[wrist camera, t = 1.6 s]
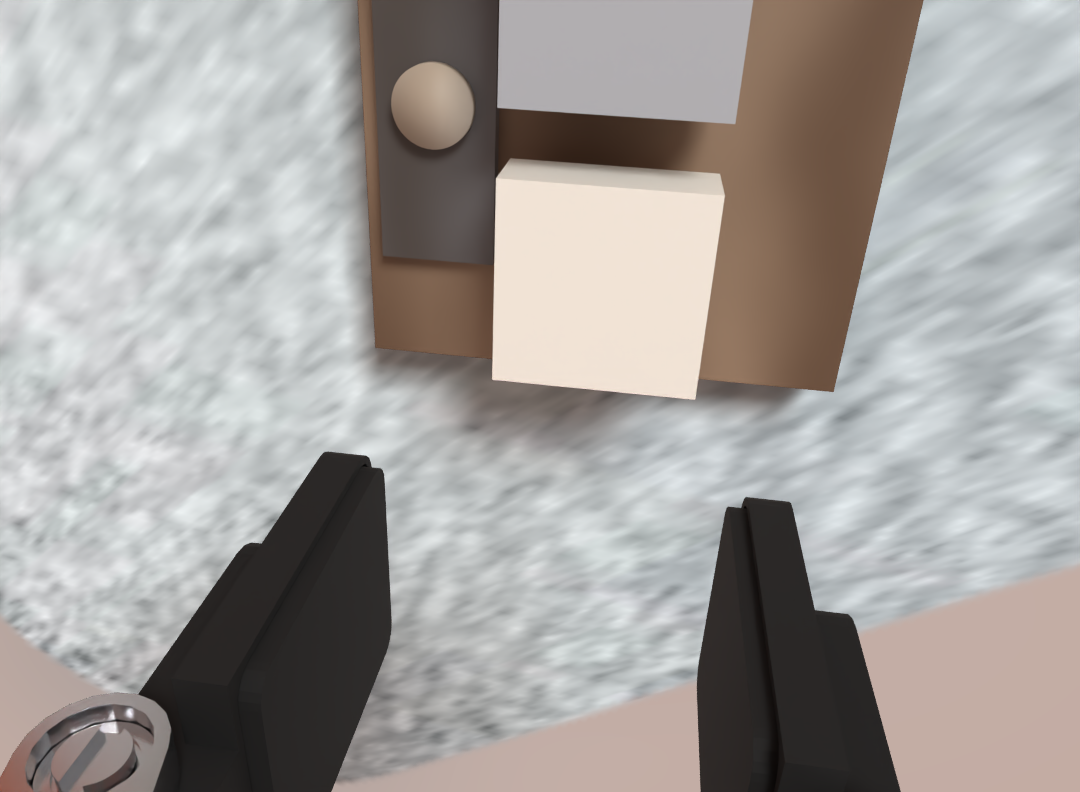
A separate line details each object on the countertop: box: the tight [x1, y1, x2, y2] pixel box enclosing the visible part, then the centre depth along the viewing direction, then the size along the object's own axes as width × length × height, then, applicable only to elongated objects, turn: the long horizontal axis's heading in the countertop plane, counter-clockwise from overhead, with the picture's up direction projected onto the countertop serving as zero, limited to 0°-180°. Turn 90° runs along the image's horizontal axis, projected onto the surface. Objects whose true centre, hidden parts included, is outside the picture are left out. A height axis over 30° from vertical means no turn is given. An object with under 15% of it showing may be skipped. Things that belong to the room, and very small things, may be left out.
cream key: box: [492, 158, 725, 400], centre depth 21 cm, size 5×5×2 cm
